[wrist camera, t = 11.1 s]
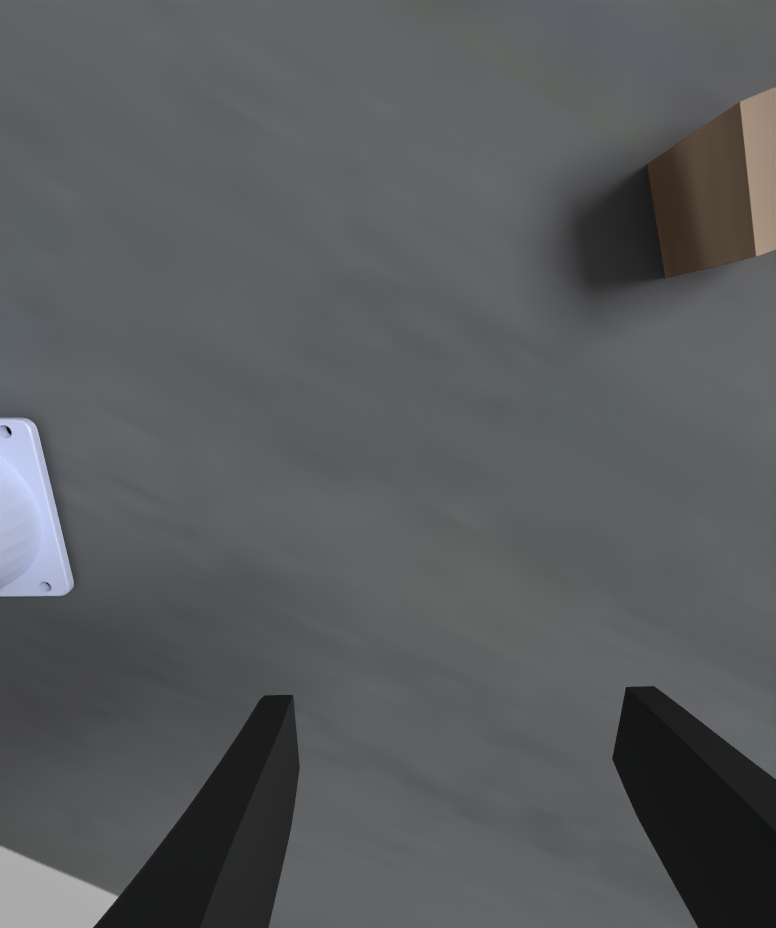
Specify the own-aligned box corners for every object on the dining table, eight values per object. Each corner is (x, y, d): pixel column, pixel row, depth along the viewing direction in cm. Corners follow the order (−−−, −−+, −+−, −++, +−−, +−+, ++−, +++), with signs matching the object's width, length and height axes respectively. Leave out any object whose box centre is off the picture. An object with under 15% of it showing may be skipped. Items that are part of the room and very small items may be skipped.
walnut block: (664, 278, 16) (756, 256, 12) (645, 165, 15) (740, 101, 11) (767, 238, 16) (896, 203, 12) (756, 120, 14) (894, 38, 11)
